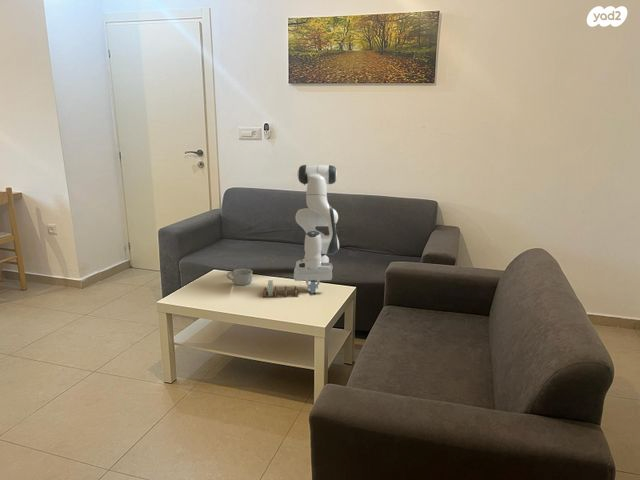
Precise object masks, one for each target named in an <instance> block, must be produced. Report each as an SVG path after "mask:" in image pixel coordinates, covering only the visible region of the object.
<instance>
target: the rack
mask: <svg viewBox="0 0 640 480" xmlns="http://www.w3.org/2000/svg"><path fill="white" fill-rule="evenodd" d="M299 297H300V296H299V291H298V289H297V286H296V285H294V289H287V285H284V289H281V290H278V289H277V286H274V289H273V296H268V290H267V286H264V290H263V291H262V299H281V298H283V299H285V298H299Z"/></svg>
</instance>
